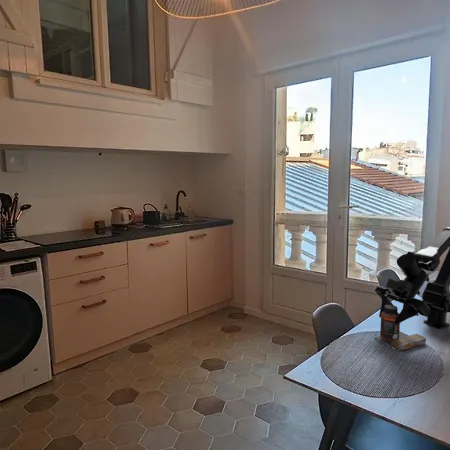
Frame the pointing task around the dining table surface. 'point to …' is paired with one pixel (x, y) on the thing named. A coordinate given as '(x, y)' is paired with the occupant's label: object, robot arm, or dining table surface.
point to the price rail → (408, 342)
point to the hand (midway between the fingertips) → (387, 320)
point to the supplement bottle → (389, 323)
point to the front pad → (390, 341)
